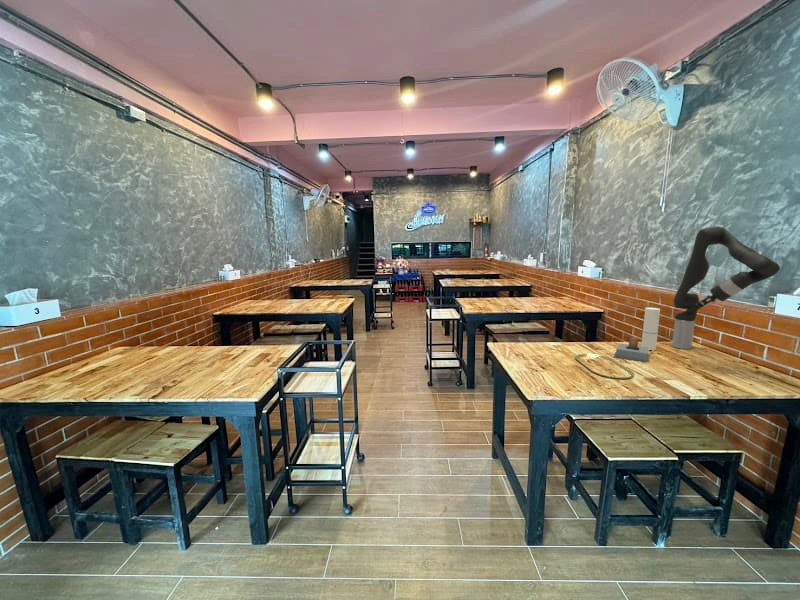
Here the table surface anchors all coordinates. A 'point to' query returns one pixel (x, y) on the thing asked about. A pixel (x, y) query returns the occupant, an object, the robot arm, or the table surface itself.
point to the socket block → (632, 353)
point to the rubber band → (609, 360)
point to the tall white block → (650, 328)
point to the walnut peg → (633, 343)
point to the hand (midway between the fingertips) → (692, 309)
